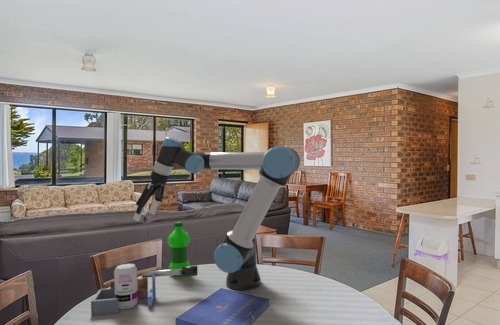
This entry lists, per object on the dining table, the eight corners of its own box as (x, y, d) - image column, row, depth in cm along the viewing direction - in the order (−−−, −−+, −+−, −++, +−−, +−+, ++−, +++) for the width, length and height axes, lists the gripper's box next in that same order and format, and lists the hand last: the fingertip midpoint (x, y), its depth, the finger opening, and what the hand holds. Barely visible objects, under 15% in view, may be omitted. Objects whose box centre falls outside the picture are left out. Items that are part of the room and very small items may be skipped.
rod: (197, 289, 144) (197, 264, 144) (198, 301, 131) (197, 274, 131) (143, 294, 140) (142, 268, 140) (138, 307, 127) (138, 279, 127)
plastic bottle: (185, 278, 159) (183, 224, 159) (164, 276, 162) (163, 224, 161) (194, 271, 169) (192, 220, 168) (174, 270, 171) (173, 220, 171)
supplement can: (131, 299, 136) (130, 261, 136) (141, 305, 130) (140, 266, 130) (111, 305, 130) (110, 266, 130) (120, 312, 125) (119, 271, 124)
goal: (124, 299, 136) (123, 287, 136) (117, 312, 124) (117, 299, 124) (99, 301, 134) (99, 289, 134) (91, 315, 122) (91, 301, 122)
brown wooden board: (148, 295, 139) (147, 277, 139) (147, 297, 138) (147, 278, 138) (111, 299, 137) (111, 280, 137) (110, 300, 135) (110, 281, 135)
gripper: (166, 166, 159) (150, 207, 162) (138, 171, 135) (120, 219, 138) (180, 173, 158) (164, 214, 161) (155, 179, 134) (136, 227, 136)
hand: (144, 216), depth 149 cm, fingers open, 13 cm apart
